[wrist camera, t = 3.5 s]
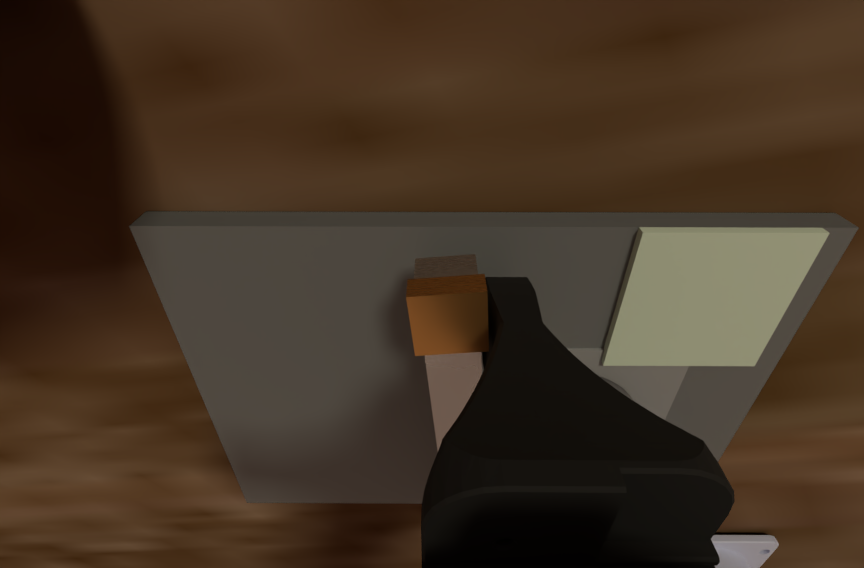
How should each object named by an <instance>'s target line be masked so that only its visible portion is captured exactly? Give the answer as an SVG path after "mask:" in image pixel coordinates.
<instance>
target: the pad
mask: <svg viewBox="0 0 864 568" xmlns="http://www.w3.org/2000/svg"><path fill="white" fill-rule="evenodd" d="M829 234H830V233H829V232H828V231H826V230H825V229H823V228H740V227H639V229H638V232H637V236H636V239H635V242H634V246H633V249H632V253H631V256H630V260H629V263H628V266H627V270H626V273H625V277H624V280H623V284H622V287H621V290H620V294H619V297H618V301H617V304H616V308H615V311H614V314H613V318H612V321H611V325H610V328H609V332H608V335H607V338H606V342H605V345H604V350H605V351H604V354H603V357H602V361H601V362H602V364H603V366H755V364H756V363H757V361H758V359H759V357H760V356H761V354H762V352H763V350H764V349H765V347H766V345H767V343H768V341H769V340H770V338H771V336H772V334H773V333H774V331H775V329H776V327H777V326H778V324H779V322H780V320H781V318H782V317H783V315H784V313H785V311H786V310H787V308H788V306H789V304H790V303H791V301H792V299H793V297H794V295H795V294H796V292H797V290H798V288H799V287H800V285H801V283H802V281H803V280H804V278H805V276H806V274H807V272H808V271H809V269H810V267H811V265H812V264H813V262H814V260H815V258H816V257H817V255H818V253H819V251H820V249H821V248H822V246H823V244H824V242H825V241H826V239H827V237H828V235H829Z"/></svg>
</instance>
